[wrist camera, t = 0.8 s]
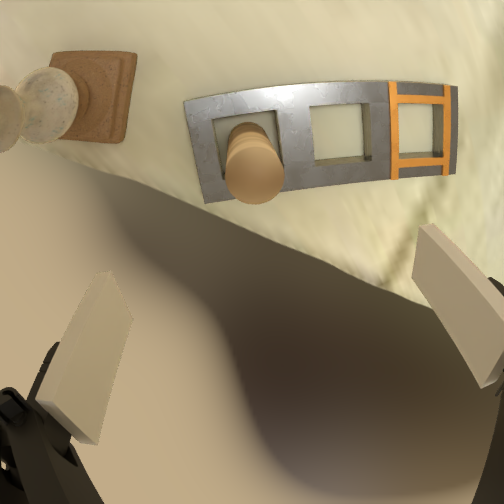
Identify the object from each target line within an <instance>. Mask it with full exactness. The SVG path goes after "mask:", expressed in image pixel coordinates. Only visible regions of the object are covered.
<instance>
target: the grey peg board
mask: <svg viewBox="0 0 504 504" xmlns="http://www.w3.org/2000/svg"><path fill="white" fill-rule="evenodd" d="M350 103H362V116H363V134H364V156H355V157H344V158H334V159H324V160H314V148H313V137H312V127H311V117H310V108H309V106H317V105H331V104H350ZM398 103H425V104H433V152H415V153H399V125H398ZM184 107H185V112H186V117H187V122H188V127H189V132H190V137H191V142H192V147H193V151H194V156H195V161H196V166H197V170H198V175H199V180H200V184H201V189H202V193H203V198H204V202H205V204H207V203H213V202H219V201H225V200H231V199H236V198H235V197H234V196H233V195H232V194H231V193H230V191H229V190H228V188H227V185H226V181H225V173H223V170H222V165H221V160H220V154H219V149H218V144H217V138H216V133H215V127H214V122H213V119H216V118H222V117H228V116H234V115H240V114H247V113H253V112H261V111H268V110H275V117H276V124H277V132H278V140H279V148H280V156H281V164H282V166H283V169H284V175H285V177H284V183H283V186H282V188H281V190H280V192H285V191H292V190H300V189H307V188H315V187H323V186H331V185H340V184H349V183H358V182H367V181H377V180H387V179H391V180H397V179H398V178H410V177H422V176H435V175H442V176H447V175H450V174H455V173H456V160H457V142H458V86H452V85H446V84H436V83H423V82H405V81H333V82H314V83H301V84H289V85H279V86H270V87H262V88H255V89H247V90H241V91H234V92H228V93H222V94H216V95H211V96H206V97H200V98H195V99H191V100H186V101H184Z"/></svg>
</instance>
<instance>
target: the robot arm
mask: <svg viewBox="0 0 504 504" xmlns="http://www.w3.org/2000/svg"><path fill="white" fill-rule="evenodd" d="M412 279H413V281H414V282H415V284H416V285H417V286H418V288H419V289H420V291H421V292H422V294H423V295H424V297H425V298H426V299H427V301H428V302H429V304H430V305H431V307H432V308H433V310H434V311H435V313H436V314H437V316H438V317H439V319H440V321H441V322H442V324H443V325H444V326H445V328H446V330H447V331H448V333H449V335H450V336H451V338H452V339H453V341H454V343H455V344H456V346H457V348H458V349H459V351H460V353H461V354H462V356H463V358H464V359H465V361H466V363H467V365H468V366H469V368H470V370H471V372H472V373H473V375H474V377H475V379H476V381H477V382H478V384H479V386H480V387H481V388H483V387H485V386H487V385H490V384H492V383H494V382H496V381H497V379H498V378H499V376H500V374H501V373H502V371H503V372H504V286H503V285H502V284H501V283H500V282H498V281H496V280H495V279H493V278H492V277H489V278H487V277H486V276H485V275H484V274H483V273H482V272H481V271H480V270H479V268H478V267H477V266H476V265H475V264H474V263H473V262H472V261H471V260H470V259H469V258H468V257H467V256H466V255H465V254H464V253H463V252H462V251H461V250H460V249H459V248H458V247H457V246H456V245H455V244H454V243H453V242H452V241H451V240H450V239H449V238H448V237H447V236H446V235H445V234H444V233H443V232H442V231H441V230H440V229H439V228H438V227H437V226H436V225H435V224H433V223H432V224H426V225H419V230H418V238H417V246H416V253H415V260H414V266H413V272H412ZM132 321H133V317H132V315H131V313H130V311H129V309H128V307H127V305H126V302H125V300H124V298H123V296H122V294H121V292H120V289H119V287H118V285H117V283H116V280H115V278H114V276H113V273H112V271H107V272H100V273H96V275H95V277H94V279H93V281H92V282H91V284H90V286H89V288H88V289H87V291H86V293H85V295H84V297H83V299H82V300H81V302H80V304H79V306H78V308H77V310H76V312H75V314H74V315H73V317H72V319H71V322H70V323H69V325H68V327H67V329H66V331H65V333H64V336H63V337H62V339H61V342H56V343H55V344H54V345H53V346H52V348H51V349H50V350H49V351H48V353H47V355H46V357H45V359H44V361H43V364H42V365H41V368H40V370H39V371H40V372H39V373H38V374H37V376H36V379H35V381H34V383H33V386H32V388H31V390H30V393H29V395H28V397H27V400H25V399H24V398H23V397H22V396H21V395H20V394H19V393H18V391H17V390H16V389H14V388H12V387H6V388H4V389H2V390H0V504H104V502H103V501H102V499H101V497H100V496H99V494H98V492H97V490H96V489H95V487H94V485H93V483H92V481H91V480H90V478H89V476H88V474H87V473H86V470H85V468H84V466H83V464H82V462H81V460H80V459H79V456H78V455H77V453H76V450H75V448H74V447H73V445H72V444H71V443H70V439H71V435H72V436H73V437H74V438H75V439H76V440H78V441H79V442H80V443H85V444H92V445H98V442H99V437H100V433H101V429H102V425H103V421H104V417H105V413H106V409H107V405H108V401H109V398H110V394H111V390H112V386H113V383H114V379H115V376H116V373H117V369H118V366H119V363H120V359H121V356H122V353H123V349H124V346H125V343H126V340H127V337H128V334H129V331H130V327H131V324H132ZM501 390H502V394H501V400H500V406H499V411H498V416H497V421H496V425H495V430H494V434H493V438H492V442H491V446H490V449H489V453H488V457H487V460H486V463H485V467H484V470H483V473H482V476H481V479H480V482H479V485H478V488H477V490H476V493H475V496H474V499H473V502H472V504H504V381H503V383H502V384H501V386H500V387H499V388H498V390H497V392H496V394H495V396H498V395H499V393H500V392H501ZM1 461H2V462H4V463H5V464H6V470H4V469H3V468H2V467H1Z"/></svg>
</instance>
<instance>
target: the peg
mask: <svg viewBox="0 0 504 504" xmlns="http://www.w3.org/2000/svg"><path fill="white" fill-rule="evenodd" d="M284 177H285V175H284V169H283V166H282V164H281V162H280V160H279V158H278V156H277V154H276V152H275V150H274V148H273V146H272V144H271V142H270V141H269V139H268V137H267V135H266V133H265V131H264V130H263V128H262V127H260V126H259V125H257V124H255V123H252V122H244V123H241V124H239V125H237V126H236V127H234V129H233V130H232V131H231V133H230V136H229V142H228V151H227V161H226V172H225V181H226V185H227V188H228V190H229V191H230V193H231V194H232V195H233V196H234V197H235V198H236V199H238V200H239V201H241V202H244V203H247V204H261V203H265V202H267V201H269V200H271V199H273V198H274V197H275V196H276V195H277V194H278V193H279V192H280V190H281V188H282V186H283V183H284Z"/></svg>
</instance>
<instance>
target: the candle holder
mask: <svg viewBox="0 0 504 504" xmlns="http://www.w3.org/2000/svg"><path fill="white" fill-rule="evenodd" d="M136 63H137V54H136V53H131V52H121V51H65V52H56V53H53V55H52V59H51V61H50V64H49V67H45V68H41V69H38V70H35V71H33V72H32V73H30V74H29V75H27V76H26V77H25V78H24V79H23V80H22V81H21V82H20V83H19V84H18V86H17V87H16V89H15V90H13V89H12V88H10V87H8V86H0V153H2V152H5V151H7V150H9V149H10V148H11V147H12V146H13V145H14V144H15V143H16V141H17V140H18V138H19V136H20V137H21V138H23V139H24V140H26V141H28V142H31V143H36V144H44V143H49V142H52V141H54V140H56V139H67V140H79V141H90V142H100V143H119V142H121V141H123V140H124V138H125V132H126V127H127V119H128V112H129V105H130V98H131V92H132V86H133V80H134V75H135V70H136Z"/></svg>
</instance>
